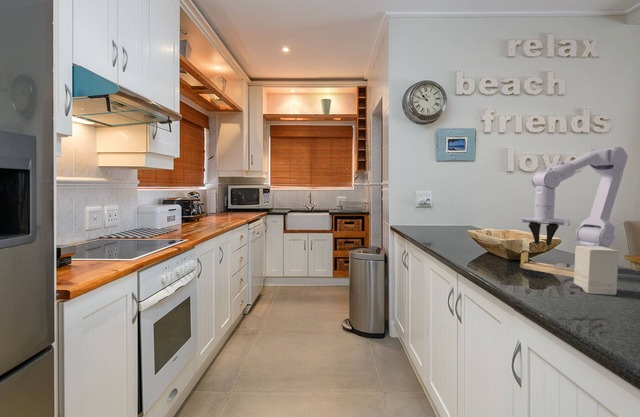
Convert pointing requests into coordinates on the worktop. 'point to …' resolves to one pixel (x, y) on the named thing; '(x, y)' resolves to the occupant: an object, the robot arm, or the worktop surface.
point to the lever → (524, 258)
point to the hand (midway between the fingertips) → (542, 244)
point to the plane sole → (546, 268)
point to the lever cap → (564, 266)
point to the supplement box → (596, 269)
